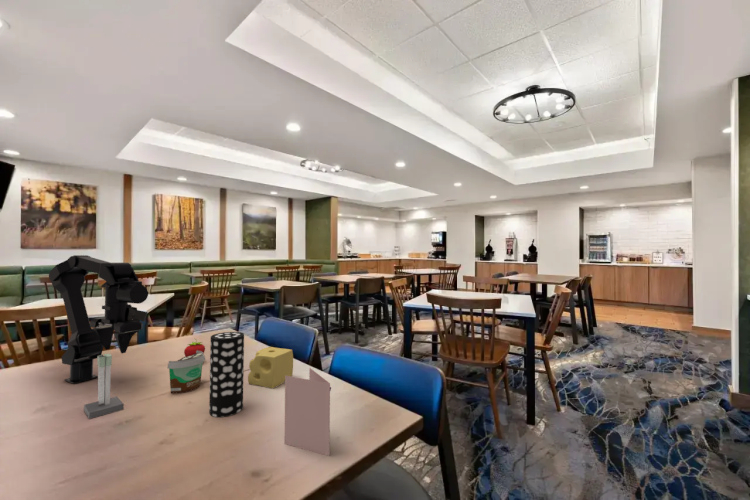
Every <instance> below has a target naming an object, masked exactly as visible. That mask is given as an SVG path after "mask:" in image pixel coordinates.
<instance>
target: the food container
mask: <svg viewBox="0 0 750 500" xmlns="http://www.w3.org/2000/svg"><path fill="white" fill-rule="evenodd" d="M205 361H206V357H205V353H204V354H203V352H202V351H196V354H194V355H191V356H186V357H185V356H183V357H181V358H180V359H178V360H168V364H167V367H166V368H167V369H168V371H169V385H170V386H169V387H170V394H172V395H175V394H176V395H177V394H184V393H185V394H186V393H189V392H192V391H194V390H197V389H198V388H200V387H201V381H202V373H203V372H202V371H203V363H204V362H205Z"/></svg>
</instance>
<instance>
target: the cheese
mask: <svg viewBox="0 0 750 500" xmlns="http://www.w3.org/2000/svg"><path fill="white" fill-rule="evenodd" d="M248 368H249V370H250V372H248V376H247V381H248V385H252V384H253V385H254V386H258V385H259V386H260V387H264V388H269V389H272V388H273V389H275V388H277V387H278V386H280V385H281V383H282V384H284V383H285V382H284V381H285V376H291V377H293V371H294V352H293V349H289V348H282V347H281V348H280V347H274V346H268V347H264V348H261V349H259V350H257V351H256V353H255V356H254V358H253V359H251V360H249V366H248ZM283 382H284V383H283ZM276 386H277V387H276ZM274 387H275V388H274Z"/></svg>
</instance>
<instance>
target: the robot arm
mask: <svg viewBox="0 0 750 500" xmlns="http://www.w3.org/2000/svg"><path fill="white" fill-rule="evenodd" d="M89 272H92V273H94V274H98V277H99V278H100V279H102V280H104V281H105V282H104V283H103V284H102V285H101V288H103V289H104V288H105V290H104V291H105V292H104V293H105V294H104V305H101V310H104V316H100V317H99V316H98V317H94V318H92V319H91V320H90V319H89V316H88V311H87V307H86V303H85V300H84V297H83V292H82V287H83V286H84V285H85V281H86V280H85V277H86V276H87V275H88V274H89ZM48 279H49V281H50V283H51V285H52V287H53V288H54V289H55V290H56V291H58V292H59V293H60V294H61V296H62V300H63V304H64V308H65V311H66V315H67V320H68V323H69V327H70V330H71V335H70V338H69V339H68V342H67V347H68V348H67V349H66V351H65V352H64V353H63V354H62V356H61V363H62V364H63V365H67V366H69V377H67V378H65V379H64V381H65V382H68V383H70V384H74V385H75V384H80V383H83V382H86V381H90V380H94V379H98V375H96V374H94V359H96V360H97V356H99V355H103V354H102V353H103V351H104V350H110V349H111V345H112V340H113V335H114V337H115V341H116V343H117V346H118V349H119V351H120V353H121V354H125V353H127V351H128V347H129V345H130V342H131V340H132V338H133V336H134V335H135V334H137V333H139V332H140V330H143V325H144V323H143V322H145V321H146V318H147V316H148V311H144V310H139V309H138V307H134V306H132V305H131V304H143V303H144V302H145V301H147V299H148V297H149V291H148V288H147V287H146V286H145V285H143V281H141V280H139V277H138V275H137V274H136V272H135V271H134V268H133V267H132V265H131V263H129V262H109V261H106V260H103V259H99V258H95V257H92V256H90V255H84V254H83V255H75V254H74V255H71V256H70V257H68V258H67V260H64V261H62V262H60V263H57V264H55V266H53V268H52V269H51V270H50V271H49V273H48Z"/></svg>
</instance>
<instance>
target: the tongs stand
mask: <svg viewBox="0 0 750 500" xmlns="http://www.w3.org/2000/svg"><path fill="white" fill-rule="evenodd" d="M103 356H105V367H104V403H103V404H100V405H99V404H98V400H97V401H93V402H90V403H86V404H84V405H83V411H84V414H86V416H87V418H88V420H91V419H95V418H97V417H102V416H104V415H105V416H106V415H108V414H113V413H115V412H119V411H123V410H124V403H123V401H122V400H121V399H120V398H119V397H118V396H114V397H111V375H112V374H111V371H112V368H111V367H112V364H113V363H112V361H113V360H112V359H113V355H111V353H106V354H103Z"/></svg>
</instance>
